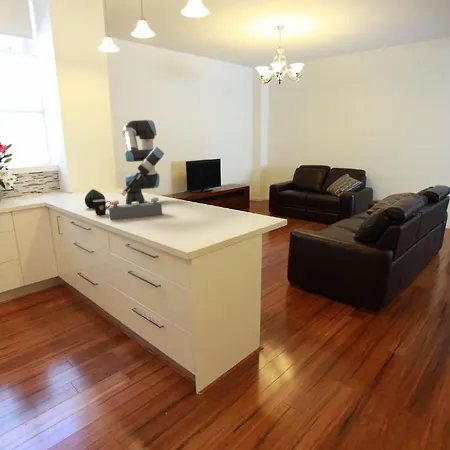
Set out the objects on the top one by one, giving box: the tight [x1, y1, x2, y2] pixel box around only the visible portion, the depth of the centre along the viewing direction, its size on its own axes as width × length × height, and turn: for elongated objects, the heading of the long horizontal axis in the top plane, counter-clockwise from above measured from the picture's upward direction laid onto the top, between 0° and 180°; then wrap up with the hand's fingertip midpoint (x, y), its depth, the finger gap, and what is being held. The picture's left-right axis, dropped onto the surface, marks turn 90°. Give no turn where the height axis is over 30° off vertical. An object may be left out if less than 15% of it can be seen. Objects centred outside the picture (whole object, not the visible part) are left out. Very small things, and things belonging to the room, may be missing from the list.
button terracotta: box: [110, 200, 120, 207], centre depth 226 cm, size 5×5×5 cm
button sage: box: [150, 197, 159, 204], centre depth 232 cm, size 5×5×5 cm
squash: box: [84, 188, 106, 209], centre depth 264 cm, size 14×15×15 cm
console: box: [108, 201, 163, 221], centre depth 230 cm, size 34×7×8 cm, turn 103°
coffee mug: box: [93, 199, 112, 216], centre depth 241 cm, size 12×9×10 cm
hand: (122, 194), depth 225 cm, fingers closed
